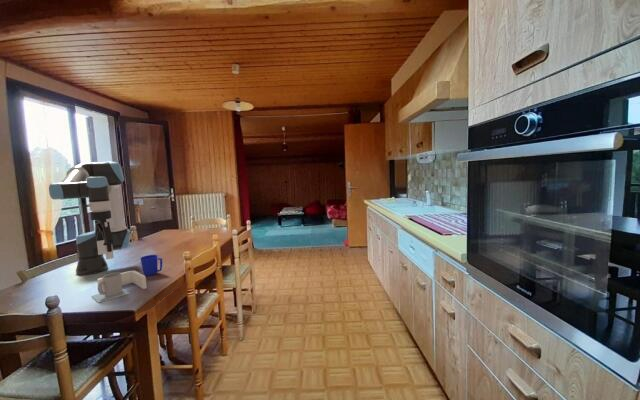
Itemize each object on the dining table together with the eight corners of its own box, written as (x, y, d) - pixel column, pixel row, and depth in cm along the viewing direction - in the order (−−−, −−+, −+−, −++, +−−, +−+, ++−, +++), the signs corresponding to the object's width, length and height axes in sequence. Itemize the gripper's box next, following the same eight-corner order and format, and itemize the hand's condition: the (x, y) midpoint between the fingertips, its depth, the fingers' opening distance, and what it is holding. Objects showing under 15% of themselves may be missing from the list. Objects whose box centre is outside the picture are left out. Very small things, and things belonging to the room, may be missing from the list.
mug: (157, 277, 160) (155, 259, 159) (138, 276, 162) (136, 258, 161) (168, 271, 168) (166, 254, 167) (150, 271, 170) (148, 254, 169)
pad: (91, 296, 137) (91, 295, 137) (121, 288, 146) (121, 287, 146) (98, 303, 129) (97, 302, 129) (129, 293, 138) (129, 293, 138)
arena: (98, 290, 143) (97, 278, 143) (135, 280, 155) (133, 269, 155) (108, 299, 132) (106, 286, 132) (146, 288, 144) (145, 276, 144)
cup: (126, 291, 140) (124, 273, 139) (104, 300, 131) (101, 280, 130) (116, 289, 143) (114, 271, 142) (94, 298, 134) (91, 279, 133)
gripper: (84, 210, 139) (89, 254, 141) (97, 213, 122) (103, 263, 124) (103, 208, 144) (108, 250, 147) (118, 211, 128) (123, 258, 130)
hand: (105, 256), depth 136 cm, fingers open, 13 cm apart
